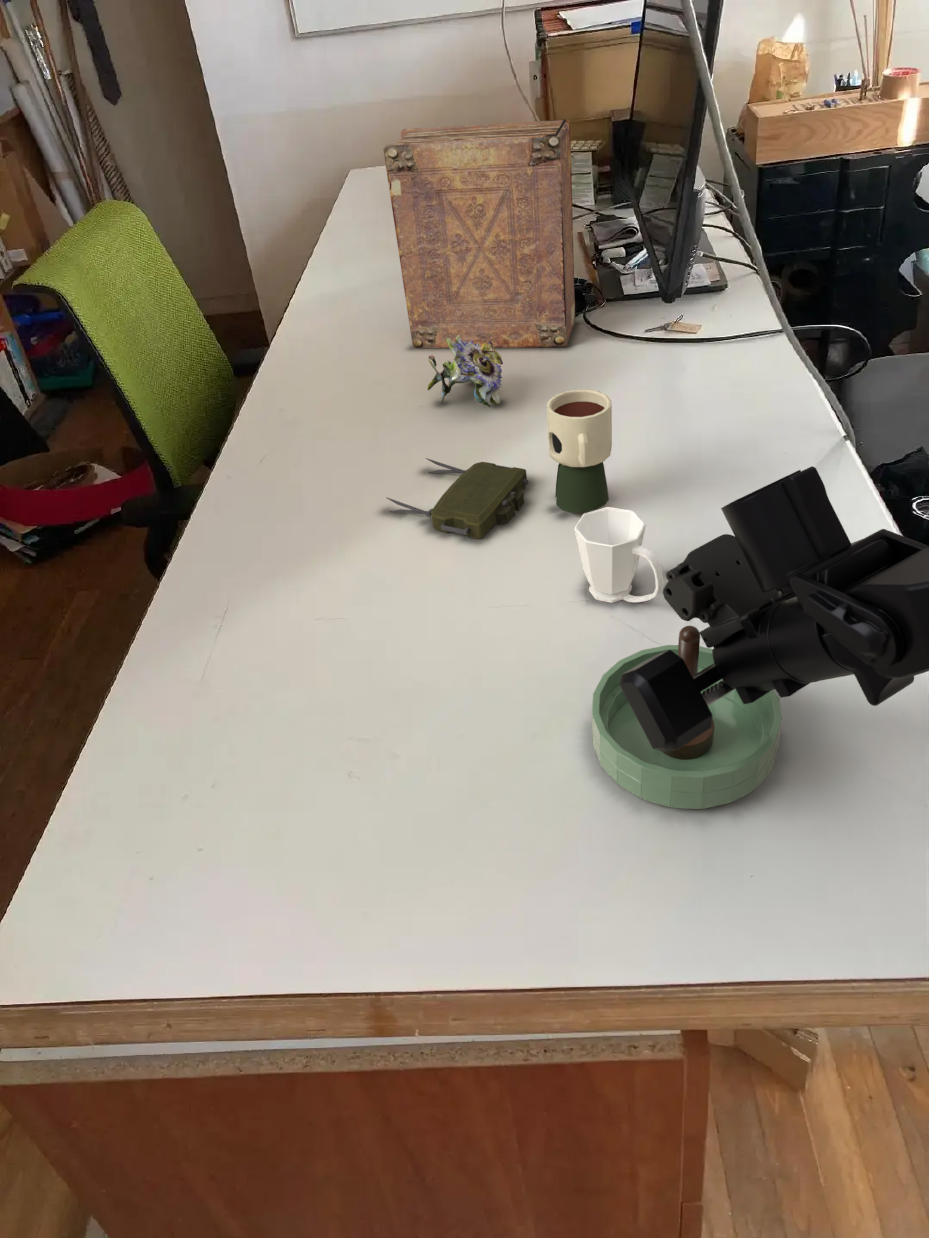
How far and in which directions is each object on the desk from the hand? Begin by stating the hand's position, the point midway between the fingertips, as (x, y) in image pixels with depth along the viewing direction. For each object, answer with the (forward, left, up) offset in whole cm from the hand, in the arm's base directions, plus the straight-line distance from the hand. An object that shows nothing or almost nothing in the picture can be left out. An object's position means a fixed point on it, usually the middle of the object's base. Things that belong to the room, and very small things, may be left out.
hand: (678, 672), depth 76 cm
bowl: (-1, +1, -8) cm, 8 cm away
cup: (+11, -17, -8) cm, 22 cm away
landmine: (+35, -28, -8) cm, 45 cm away
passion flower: (+46, -52, -8) cm, 70 cm away
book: (+52, -74, -8) cm, 91 cm away
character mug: (+21, -32, -8) cm, 39 cm away
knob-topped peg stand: (-1, +1, -7) cm, 7 cm away
